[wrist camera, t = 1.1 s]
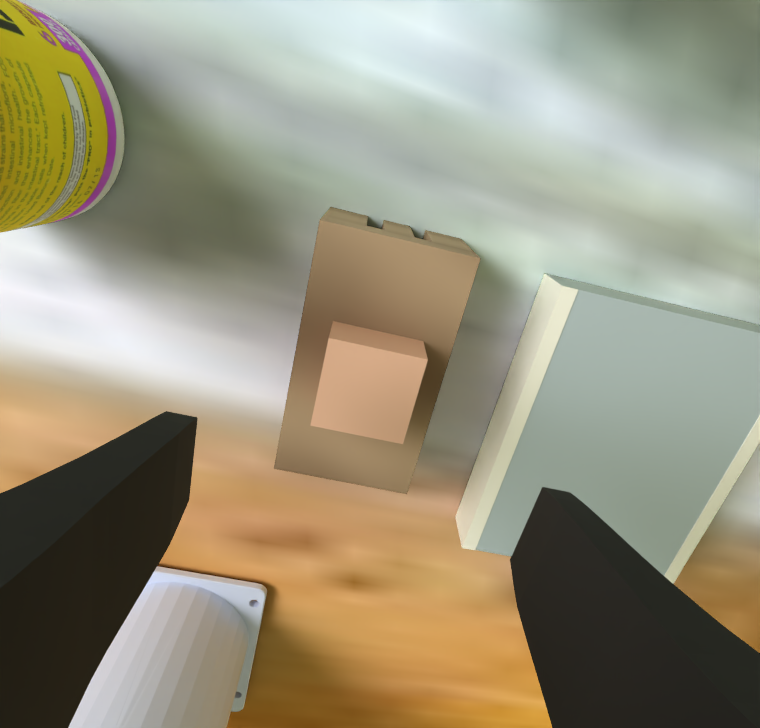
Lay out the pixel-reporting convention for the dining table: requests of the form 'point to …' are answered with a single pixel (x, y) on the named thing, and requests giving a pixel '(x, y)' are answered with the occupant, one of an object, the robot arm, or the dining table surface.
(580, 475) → the dock
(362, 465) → the pallet
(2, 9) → the supplement bottle
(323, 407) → the tan square block
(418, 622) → the dining table surface
